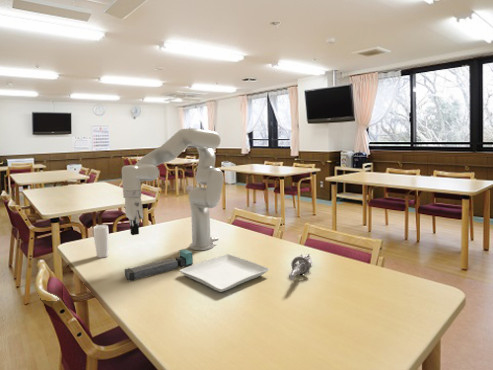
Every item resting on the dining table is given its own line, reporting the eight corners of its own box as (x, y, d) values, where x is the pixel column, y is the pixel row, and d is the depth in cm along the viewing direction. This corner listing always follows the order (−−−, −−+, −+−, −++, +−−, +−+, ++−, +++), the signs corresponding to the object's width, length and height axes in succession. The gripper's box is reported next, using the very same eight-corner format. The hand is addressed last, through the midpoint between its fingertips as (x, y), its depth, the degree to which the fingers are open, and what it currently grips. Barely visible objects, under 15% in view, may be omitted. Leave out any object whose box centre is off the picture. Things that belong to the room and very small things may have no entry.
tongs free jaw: (172, 264, 158) (171, 257, 158) (175, 266, 156) (174, 259, 156) (124, 276, 145) (124, 269, 145) (127, 278, 143) (126, 271, 142)
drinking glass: (104, 259, 166) (102, 228, 164) (92, 258, 168) (89, 228, 166) (112, 254, 173) (111, 225, 171) (100, 253, 174) (98, 224, 172)
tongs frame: (187, 261, 163) (187, 254, 162) (193, 264, 158) (193, 257, 158) (125, 277, 145) (124, 269, 145) (129, 281, 141) (129, 273, 140)
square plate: (227, 260, 164) (227, 252, 164) (270, 276, 145) (270, 268, 144) (178, 277, 146) (178, 268, 145) (220, 298, 126) (220, 288, 126)
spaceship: (276, 269, 131) (296, 264, 128) (298, 250, 163) (314, 246, 161) (283, 290, 130) (303, 285, 127) (303, 267, 163) (319, 262, 160)
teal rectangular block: (185, 259, 163) (185, 248, 162) (192, 263, 157) (192, 252, 157) (179, 260, 161) (179, 250, 160) (186, 264, 156) (186, 253, 155)
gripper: (147, 195, 149) (149, 236, 152) (134, 190, 161) (137, 229, 163) (129, 197, 145) (132, 239, 147) (118, 192, 156) (120, 232, 159)
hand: (134, 234), depth 155 cm, fingers closed
